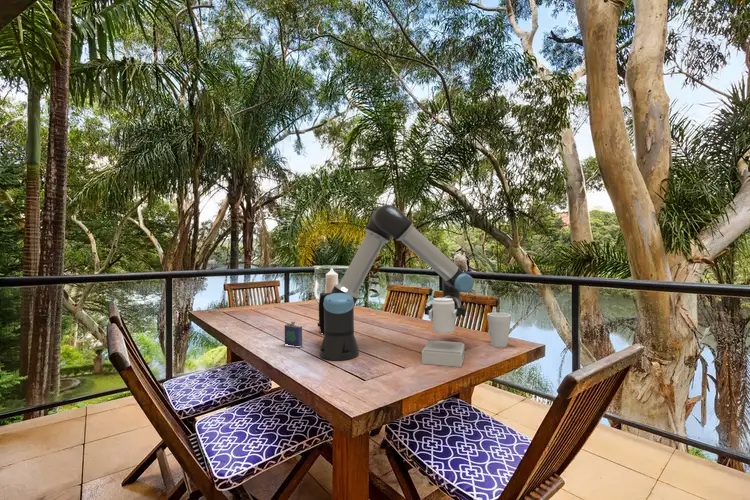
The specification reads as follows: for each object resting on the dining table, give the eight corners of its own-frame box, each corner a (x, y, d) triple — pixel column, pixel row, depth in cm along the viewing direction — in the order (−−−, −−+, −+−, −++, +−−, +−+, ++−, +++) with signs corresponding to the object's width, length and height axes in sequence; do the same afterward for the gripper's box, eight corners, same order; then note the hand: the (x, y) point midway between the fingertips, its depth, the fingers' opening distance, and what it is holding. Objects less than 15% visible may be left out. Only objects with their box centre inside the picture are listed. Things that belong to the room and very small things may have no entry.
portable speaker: (334, 335, 175) (333, 294, 175) (316, 334, 178) (315, 294, 177) (340, 331, 184) (339, 292, 183) (322, 330, 186) (322, 291, 186)
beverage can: (455, 334, 133) (454, 300, 133) (432, 333, 135) (431, 300, 134) (454, 328, 141) (454, 297, 141) (433, 328, 143) (432, 297, 142)
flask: (303, 346, 157) (303, 321, 157) (299, 348, 155) (298, 323, 154) (287, 344, 162) (286, 319, 162) (282, 345, 159) (282, 321, 159)
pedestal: (421, 363, 133) (421, 349, 133) (428, 352, 147) (428, 340, 147) (461, 367, 129) (461, 352, 129) (464, 355, 143) (464, 342, 142)
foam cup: (486, 347, 153) (486, 315, 153) (488, 341, 162) (488, 312, 162) (510, 349, 150) (510, 317, 149) (511, 343, 158) (511, 313, 158)
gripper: (474, 315, 152) (472, 327, 130) (424, 313, 158) (413, 324, 136) (474, 297, 152) (471, 306, 130) (424, 295, 158) (413, 304, 136)
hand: (441, 315), depth 133 cm, fingers closed on beverage can, 8 cm apart
